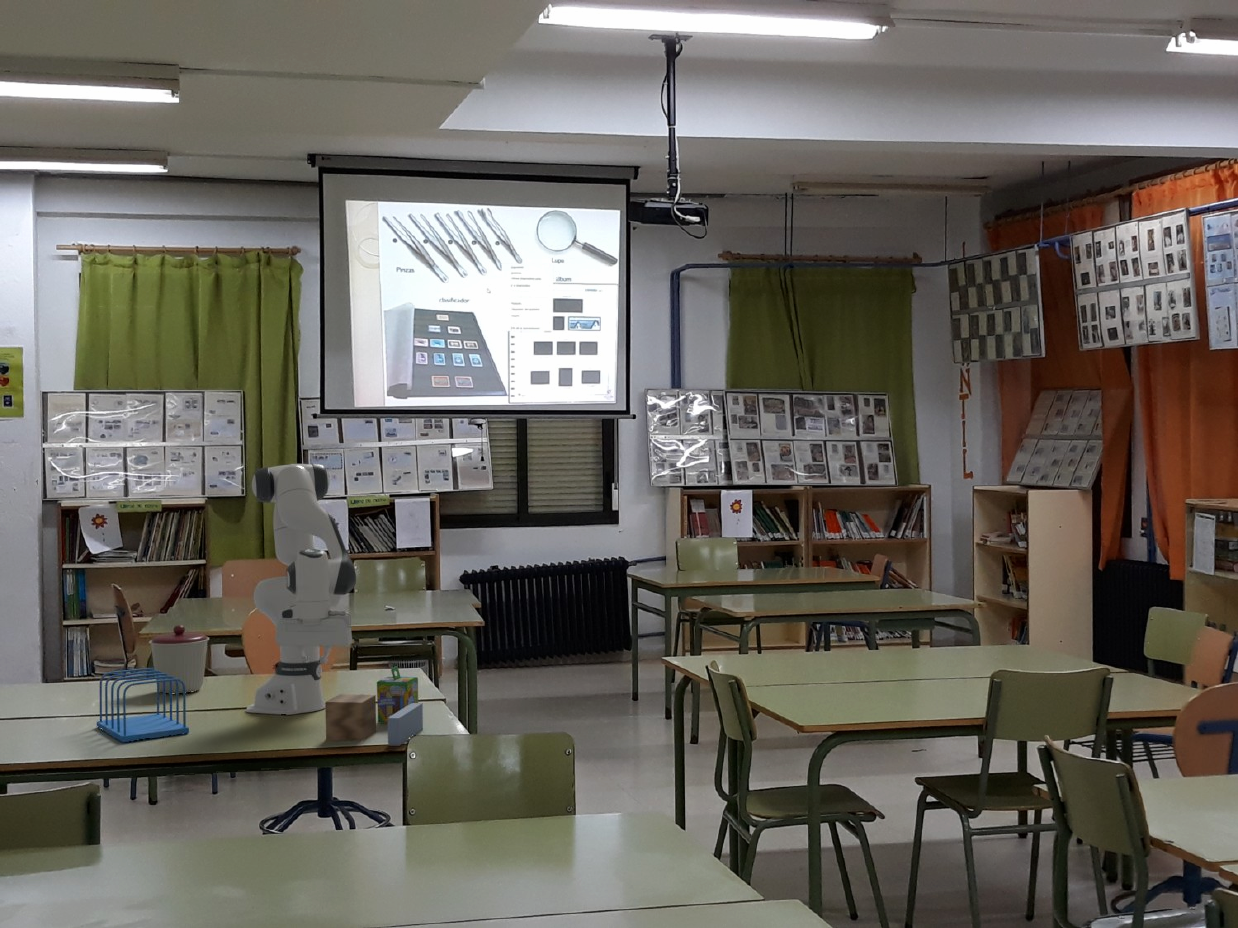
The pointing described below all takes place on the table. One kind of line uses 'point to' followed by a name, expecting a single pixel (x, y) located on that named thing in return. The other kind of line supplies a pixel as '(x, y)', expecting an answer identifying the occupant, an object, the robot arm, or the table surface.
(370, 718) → the walnut cube
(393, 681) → the chalk box
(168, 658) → the canister
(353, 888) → the table surface
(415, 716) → the board
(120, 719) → the file sorter
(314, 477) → the robot arm
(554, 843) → the table surface
